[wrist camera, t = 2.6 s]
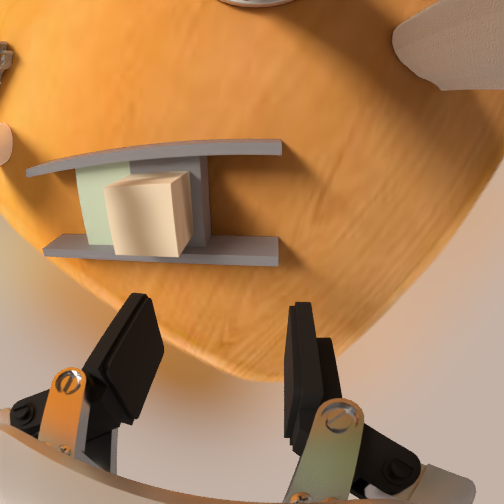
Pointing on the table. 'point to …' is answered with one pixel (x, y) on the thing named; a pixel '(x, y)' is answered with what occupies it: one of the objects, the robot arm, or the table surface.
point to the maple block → (150, 213)
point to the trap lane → (196, 161)
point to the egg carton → (5, 58)
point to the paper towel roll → (455, 44)
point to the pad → (98, 198)
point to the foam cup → (5, 143)
